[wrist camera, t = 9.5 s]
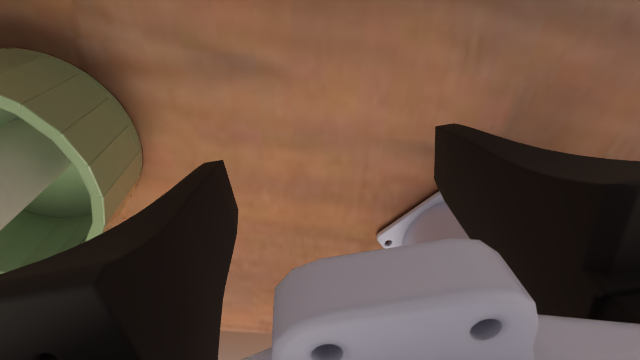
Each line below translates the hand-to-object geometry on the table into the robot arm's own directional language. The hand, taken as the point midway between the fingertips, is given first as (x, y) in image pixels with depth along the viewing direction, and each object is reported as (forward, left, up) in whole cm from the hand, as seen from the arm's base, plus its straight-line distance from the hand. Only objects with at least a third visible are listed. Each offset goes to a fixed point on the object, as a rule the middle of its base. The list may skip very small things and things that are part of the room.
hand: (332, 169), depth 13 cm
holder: (+8, +14, -10) cm, 19 cm away
